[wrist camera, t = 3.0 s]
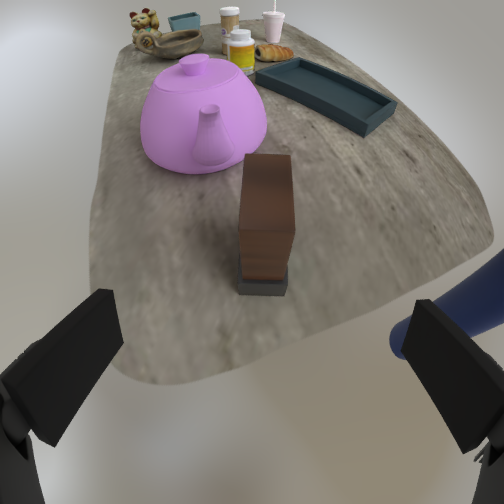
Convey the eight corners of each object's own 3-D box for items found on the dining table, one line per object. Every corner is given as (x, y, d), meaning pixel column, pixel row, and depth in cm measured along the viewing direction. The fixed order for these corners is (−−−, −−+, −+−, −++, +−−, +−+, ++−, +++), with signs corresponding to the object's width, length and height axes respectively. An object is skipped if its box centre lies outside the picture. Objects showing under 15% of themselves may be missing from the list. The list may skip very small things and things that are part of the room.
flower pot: (174, 46, 62) (170, 21, 54) (171, 40, 66) (167, 17, 58) (203, 40, 63) (200, 15, 55) (197, 34, 67) (195, 11, 59)
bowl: (210, 56, 55) (207, 22, 46) (141, 73, 52) (133, 40, 44) (199, 44, 61) (196, 15, 52) (140, 58, 58) (133, 30, 50)
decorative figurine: (132, 53, 62) (123, 14, 49) (138, 46, 66) (130, 9, 53) (162, 46, 62) (155, 6, 49) (166, 40, 66) (160, 2, 53)
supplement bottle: (259, 75, 49) (259, 32, 40) (234, 79, 48) (232, 36, 39) (247, 66, 51) (247, 27, 42) (224, 71, 50) (221, 30, 41)
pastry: (286, 52, 56) (287, 40, 53) (298, 61, 53) (299, 48, 50) (251, 55, 55) (251, 42, 52) (261, 64, 52) (261, 50, 49)
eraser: (284, 296, 27) (302, 237, 17) (239, 294, 27) (231, 234, 17) (283, 227, 31) (295, 151, 21) (243, 225, 31) (239, 149, 21)
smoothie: (287, 40, 62) (289, 0, 50) (279, 45, 60) (281, 2, 47) (266, 37, 64) (267, -2, 51) (257, 42, 61) (258, 0, 49)
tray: (393, 113, 44) (397, 102, 41) (363, 137, 39) (368, 124, 36) (298, 67, 52) (299, 57, 49) (255, 83, 47) (255, 71, 44)
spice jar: (218, 54, 56) (215, 8, 44) (229, 49, 58) (227, 6, 46) (233, 56, 55) (231, 9, 43) (243, 51, 56) (243, 6, 45)
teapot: (146, 116, 42) (128, 50, 30) (243, 95, 44) (241, 28, 32) (152, 229, 31) (108, 137, 18) (297, 193, 33) (315, 95, 21)
